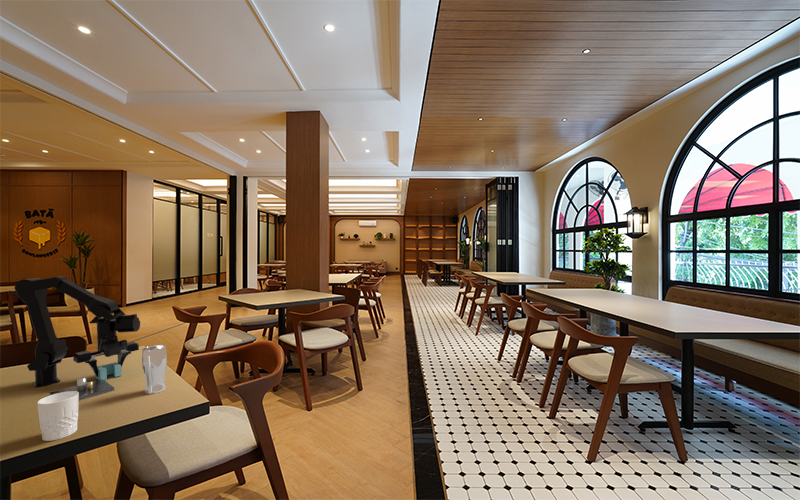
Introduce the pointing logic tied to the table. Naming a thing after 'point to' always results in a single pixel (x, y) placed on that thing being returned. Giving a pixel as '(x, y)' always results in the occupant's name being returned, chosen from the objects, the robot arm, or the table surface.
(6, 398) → the table surface
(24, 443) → the table surface
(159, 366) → the beer glass
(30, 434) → the table surface
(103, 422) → the table surface
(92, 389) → the base plate
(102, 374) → the teal u-channel block
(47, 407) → the white cup
